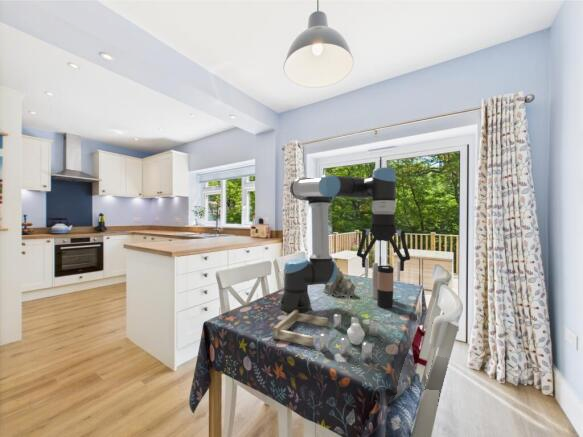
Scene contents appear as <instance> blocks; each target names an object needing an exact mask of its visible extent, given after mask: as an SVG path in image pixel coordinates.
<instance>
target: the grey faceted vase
mask: <svg viewBox="0 0 583 437" xmlns="http://www.w3.org/2000/svg"><path fill="white" fill-rule="evenodd" d="M346 333H347V337H348V338H349V342H351V344H353V345H356V346H359V345H361V344H362V342H363V341H364V338H365V334H366V333H365V331H364V329H363V328H362V326H361V324H360V323H359V324H358V323H353V324H351V323H350V327H349V328H348V329H347V330H346Z"/></svg>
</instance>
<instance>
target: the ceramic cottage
mask: <svg viewBox="0 0 583 437" xmlns="http://www.w3.org/2000/svg"><path fill="white" fill-rule="evenodd" d="M324 285H325V286H324V288H323V291H322V293H325V294H328V295H327V296H329V295H334V296H333V297H337V296H345V297H344V298H350V297H349V296H352V297H355V296H356V293H355V290H356V286H355V285H354V283H352V280H351V278H350V277H349V278H347V277H345V276H344V274H343V272H342V271H341V270H340V267H338V266H337V276H336V278H335V280H334V281H333V282H332V283H327V284H324ZM325 294H324V295H325ZM354 295H355V296H354Z"/></svg>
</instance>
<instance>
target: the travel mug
mask: <svg viewBox="0 0 583 437" xmlns="http://www.w3.org/2000/svg"><path fill="white" fill-rule="evenodd" d="M394 269H395V268H394V267H393V266H390V265H383V264H382V265H378V281H377V299H376V300H377V307H379V308H382V309H387V310H389V309H392V308H393V304H394V300H393V297H394V272H395V271H394Z"/></svg>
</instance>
